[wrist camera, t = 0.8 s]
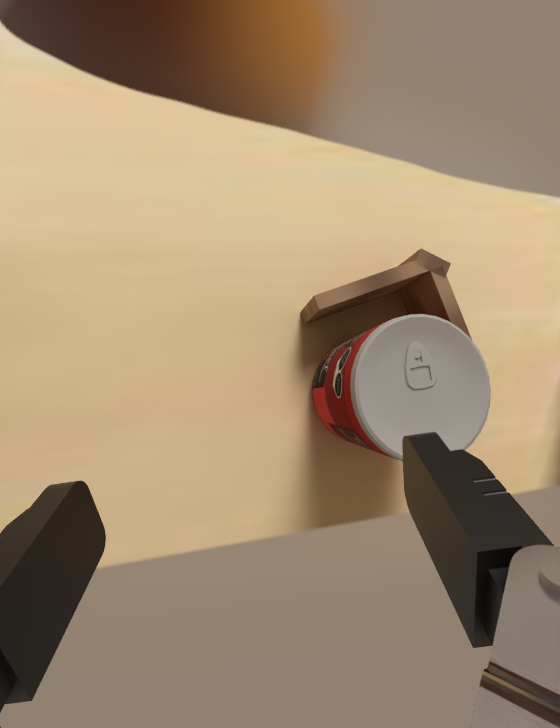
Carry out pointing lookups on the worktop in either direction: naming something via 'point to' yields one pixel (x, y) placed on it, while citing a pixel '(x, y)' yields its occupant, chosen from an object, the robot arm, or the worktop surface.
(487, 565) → the robot arm
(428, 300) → the v-block stop
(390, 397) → the canned food
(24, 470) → the worktop surface
